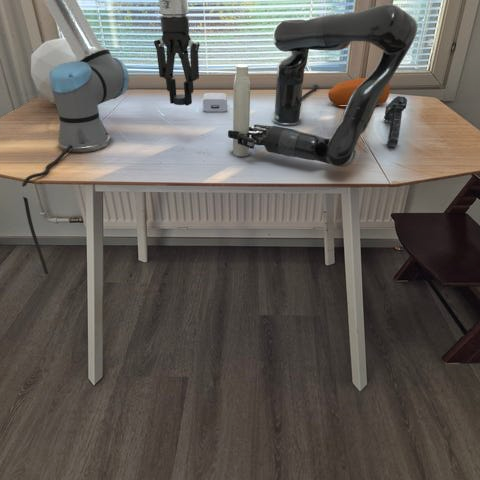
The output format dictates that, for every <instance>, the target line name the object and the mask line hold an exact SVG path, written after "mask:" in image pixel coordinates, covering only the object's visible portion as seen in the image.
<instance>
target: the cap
mask: <svg viewBox="0 0 480 480" xmlns="http://www.w3.org/2000/svg"><path fill="white" fill-rule="evenodd" d="M173 105H176V106H186V105H185V93H184V94H180V93H179V94H176V95H174V96H173Z"/></svg>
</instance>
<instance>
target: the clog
mask: <svg viewBox="0 0 480 480" xmlns="http://www.w3.org/2000/svg"><path fill="white" fill-rule="evenodd" d="M368 77H369V76H368ZM368 77H359V78H355V79H349V80H343V81H340V82H338V83H336V85H334V86H333V87H332V88H330V90H328V91H327V95H328V96H327V97H328V100H329V101H330V102H331V103H332V105H335V104H336V105H335V106H337V107H340V108H343V109H345V108H346V106H339V105H347V103H348V101H349V99H350V97H351V95H352V94H353V92H354V91H355V90H356V89H357V87H358V86H359V85H360V84H361V83H362V82H364V81H365V80H366V79H367V78H368ZM390 93H391V85H390V82H389V83H388V85H387V86H386V88H385V90H384V91H383V93H382V95H381V97H380V99H379V101H378V103H377V105H383V104H385V103H387V101H388V98H389V96H390ZM382 103H383V104H382Z"/></svg>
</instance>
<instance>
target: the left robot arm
mask: <svg viewBox="0 0 480 480" xmlns="http://www.w3.org/2000/svg"><path fill="white" fill-rule="evenodd" d="M43 2H44V4H45V6H46V7H47V9H48V11H49V13H50V14H51V16H52V18H53V20H54V21H55V24H56V25H57V27H58V28H59V30H60V32H61V34H62V35H63V37H64V39H65V40H66V41H67V42H68V44H69V46H70V48H71V49H72V51H73V53H74V55H75V56H76V61H75V62H69V63H63V64H60V65H58V66H56V67H54V68H53V69H52V70H51V71H50V75H49V76H50V81H51V88H52V91H53V95H54V99H55V103H56V104H55V107H56V111H57V114H58V118H59V132H58V133H59V134H58V145H59V148H60V149H61V150H62V152H61V153H60V154H59V155H58V156H57V158H56V159H55V160H53V161H51V162H50V163H48V164H47V165H46V166H45V170H44V171H41V172H39V173H32V174H30V175H28V176H27V177H26V178H24V180H23V182H22V185H21V187H26V186H27V185H28V182H29V181H30V180H32V179H34V178H39V177H44V176H45V175H47V174H48V173H49V171H50V168H51V167H53V166H55V165H56V164H58V163H59V162H60V161H61V159H62V158H63V157H64V156H66V154H67V153H74V154H76V153H77V154H81V153H82V154H83V153H90V152H96V151H99V150H102V149H104V148H106V147H107V146H108V145H109V144H110V143H111V140H110V139H111V138H110V135H109V133H108V130H107V129H106V127H105V125H104V123H103V121H102V120H101V116H100V112H99V107H98V105H100V104H104V103H106V102H109V101H111V100H115V99H117V98H119V97H120V96H122V95H124V94H125V93H126V92H127V90H128V88H129V84H130V74H129V71H128V68H127V65H126V64H125V63H124V62H123V60H121V59H118V58H117V57H113V55H112V53H111V52H110V50H109V48H107V47H104V46H102V45H101V43H100V41H99V40H98V38H97V36H96V34H95V32H94V30H93V29H92V27H91V24H90V23H89V21H88V19H87V17H86V16H85V14H84V12H83V10H82V8H81V7H80V4H79V3H78V1H77V0H43ZM158 5H159V14H160V15H162V16H160V27H161V32H162V35H161V38H159V39H156V40H154V41H153V44H154V47H155V49H156V56H157V67H158V75H159V77H160V78H163V79H164V80H165V84H166V90H167V92H168V93H169V104H173V105H174V103H173V96H174V95H177V83H176V78H174V77H175V76H174V68H175V59H176V55H177V56H178V57H179V59H180V62H181V67H182V71H183V74H184V78H185V79H184V82H183V89H184V90H183V91H184V95H185V105H184V106H190V105H191V104H193V99H192V98H193V97H192V94H193V93H194V92H195V91H194V90H195V89H194V81H197V80H198V79H199V78H200V67H199V49H200V42H198V41H197V42H195V41H194V40H192V39H191V37H190V24H189V23H190V21H189V16H187V15H188V14H189V5H188V0H158ZM165 48H166V49H165ZM188 48H189V50H190V51H189V50H188ZM22 198H23V202H24V208H25V214H26V218H27V222H28V226H29V230H30V234H31V237H32V240H33V243H34V245H35V248H36V251H37V254H38V256H39V259H40V263H41V265H42V268H43V272H44V274H45V275H48V274H49V270H48V267H47V264H46V261H45V258H44V255H43V252H42V250H41V246H40V244H39V241H38V237H37V235H36V231H35V228H34V225H33V220H32V216H31V210H30V203H29V200H28V197H26V196H22Z"/></svg>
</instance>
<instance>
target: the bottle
mask: <svg viewBox="0 0 480 480" xmlns="http://www.w3.org/2000/svg"><path fill="white" fill-rule="evenodd" d="M250 81H251V80H250V76H249V65H248V64H236V65H235V76H234V81H233V87H232V89H233V91H232V92H233V93H232V95H233V96H232V97H233V98H232V130H233V131H238V132H245V133H247V132H248V131H249V126H250V118H251V117H250V112H251V83H250ZM244 136H245V135H244ZM246 137H247V136H246ZM249 150H250V148H248V147H246V146H243V145H240V144H238V140H237V139H232V154H233V156H236V157H247V156H248V155H249V154H250V153H249V152H250V151H249Z"/></svg>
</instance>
